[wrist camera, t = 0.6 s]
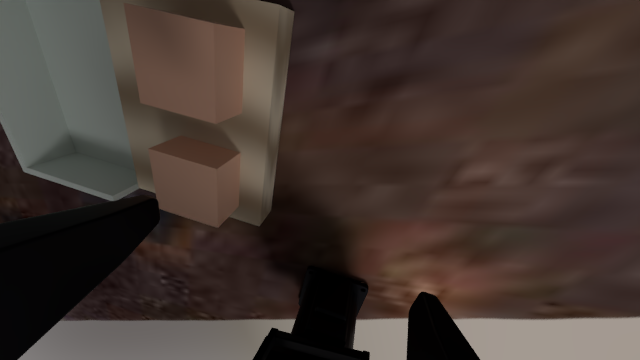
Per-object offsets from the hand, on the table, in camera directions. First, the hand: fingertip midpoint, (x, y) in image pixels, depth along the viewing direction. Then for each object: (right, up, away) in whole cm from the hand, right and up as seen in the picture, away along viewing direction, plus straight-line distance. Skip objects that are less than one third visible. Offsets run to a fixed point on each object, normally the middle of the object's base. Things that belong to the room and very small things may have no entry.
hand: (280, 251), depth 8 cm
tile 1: (-6, +10, +8) cm, 14 cm away
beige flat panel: (-8, +8, +12) cm, 16 cm away
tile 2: (-7, +3, +12) cm, 14 cm away
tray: (-18, +11, +13) cm, 25 cm away
